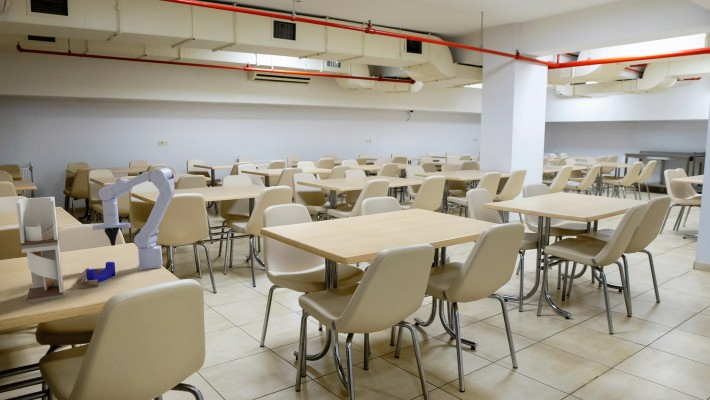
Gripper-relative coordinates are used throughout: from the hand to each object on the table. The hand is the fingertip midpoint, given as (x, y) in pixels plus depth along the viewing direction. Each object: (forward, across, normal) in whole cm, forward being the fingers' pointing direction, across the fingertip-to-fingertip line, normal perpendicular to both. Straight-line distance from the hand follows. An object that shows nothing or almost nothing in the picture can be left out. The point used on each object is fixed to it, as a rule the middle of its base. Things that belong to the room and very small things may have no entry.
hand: (113, 245), depth 216 cm
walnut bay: (+9, +5, +20) cm, 23 cm away
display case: (+10, +18, +34) cm, 40 cm away
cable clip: (+10, +3, +20) cm, 22 cm away
